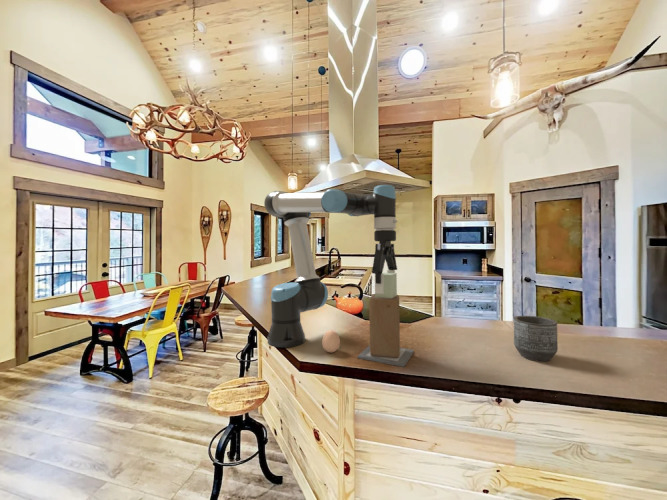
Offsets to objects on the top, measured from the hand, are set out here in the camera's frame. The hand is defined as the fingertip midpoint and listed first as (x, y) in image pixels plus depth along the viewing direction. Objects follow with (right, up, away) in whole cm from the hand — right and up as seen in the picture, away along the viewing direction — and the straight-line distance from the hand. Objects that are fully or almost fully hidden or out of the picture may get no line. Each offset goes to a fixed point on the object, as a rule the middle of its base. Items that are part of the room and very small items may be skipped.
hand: (385, 290), depth 99 cm
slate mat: (0, -23, 0) cm, 23 cm away
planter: (+51, -23, -3) cm, 56 cm away
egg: (-19, -23, +4) cm, 31 cm away
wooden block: (0, -22, +1) cm, 22 cm away
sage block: (0, -2, 0) cm, 2 cm away
